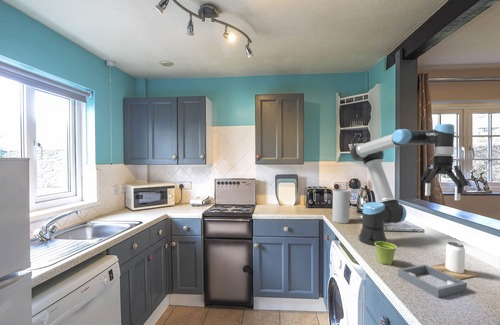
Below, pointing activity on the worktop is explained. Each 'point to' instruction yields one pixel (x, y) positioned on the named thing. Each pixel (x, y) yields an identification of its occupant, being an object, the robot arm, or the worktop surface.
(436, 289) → the tray
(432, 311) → the worktop surface
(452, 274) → the pad
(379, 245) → the plant pot
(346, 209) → the cylinder vase
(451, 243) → the can
